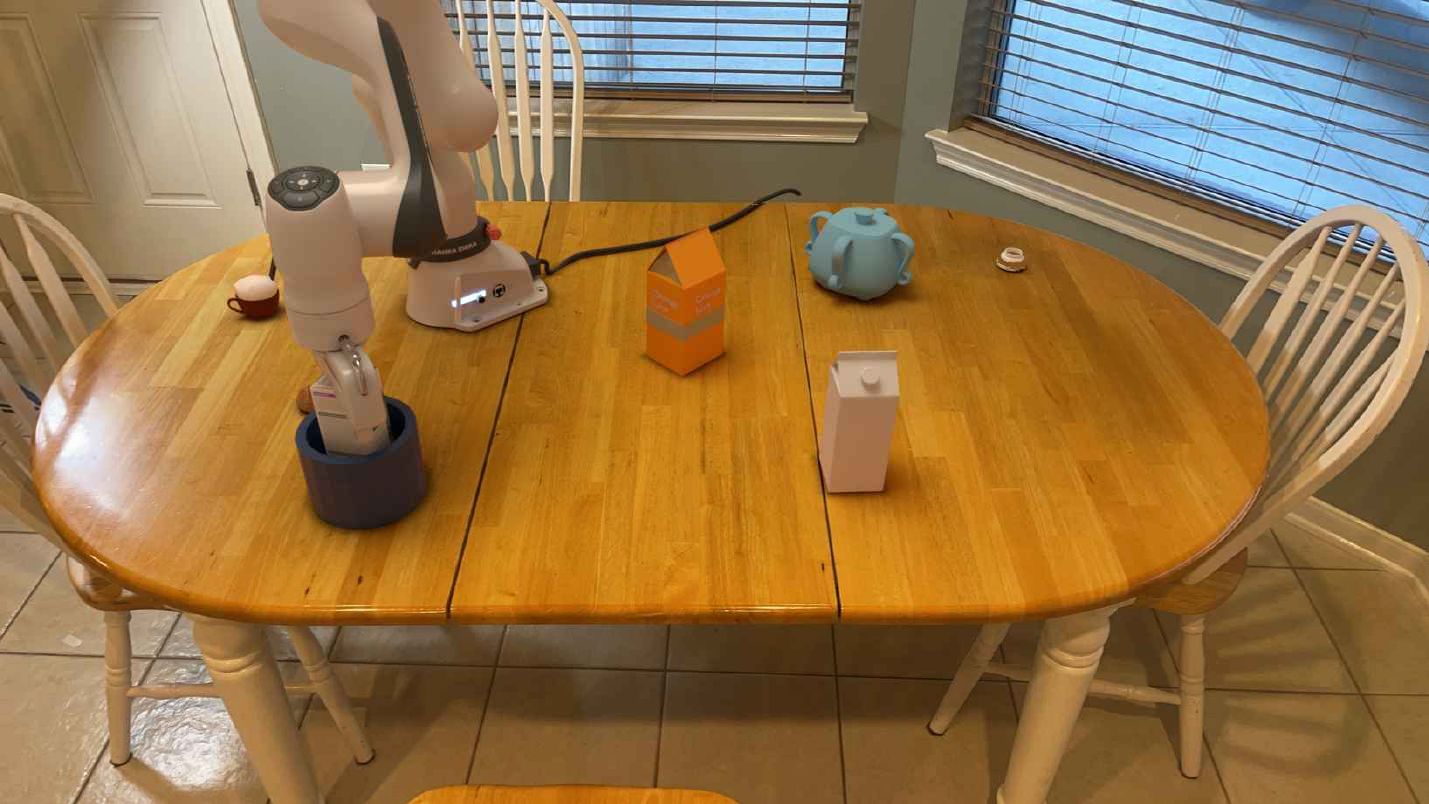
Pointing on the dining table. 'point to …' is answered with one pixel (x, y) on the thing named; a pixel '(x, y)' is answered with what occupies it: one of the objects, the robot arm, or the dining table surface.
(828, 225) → the decorative pot
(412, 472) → the dark blue bin
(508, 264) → the robot arm
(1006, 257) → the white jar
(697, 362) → the orange juice
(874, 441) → the milk carton
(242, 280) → the cocoa
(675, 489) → the dining table surface
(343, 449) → the syrup box
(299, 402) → the pastry
